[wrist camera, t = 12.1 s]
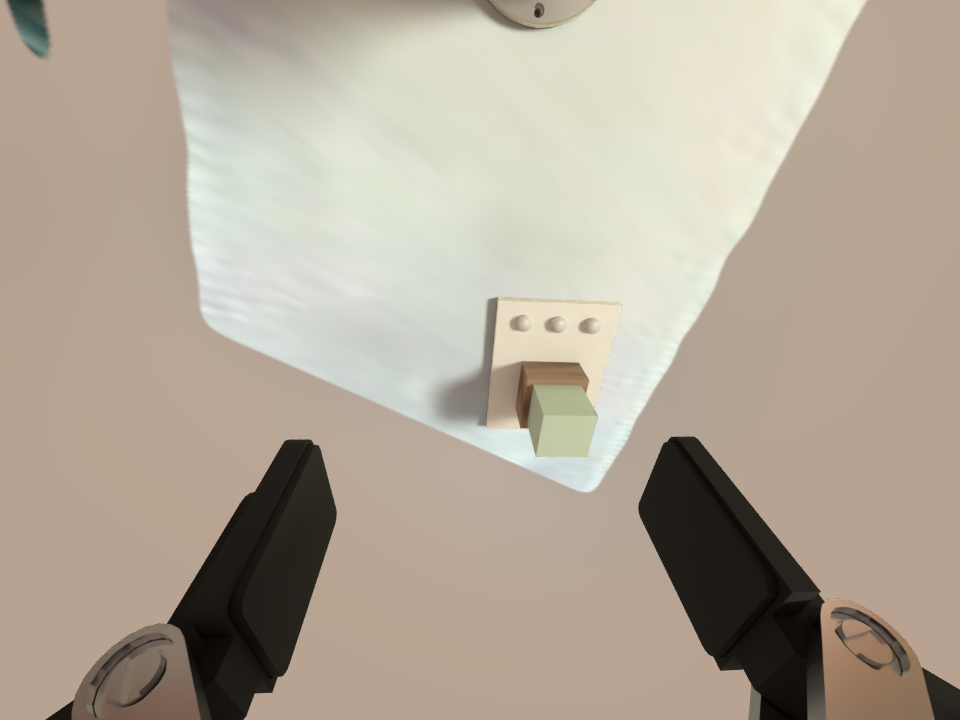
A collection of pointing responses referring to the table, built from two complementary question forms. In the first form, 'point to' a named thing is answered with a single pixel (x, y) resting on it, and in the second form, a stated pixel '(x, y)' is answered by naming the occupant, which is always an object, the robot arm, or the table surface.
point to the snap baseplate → (546, 346)
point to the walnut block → (545, 381)
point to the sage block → (561, 421)
